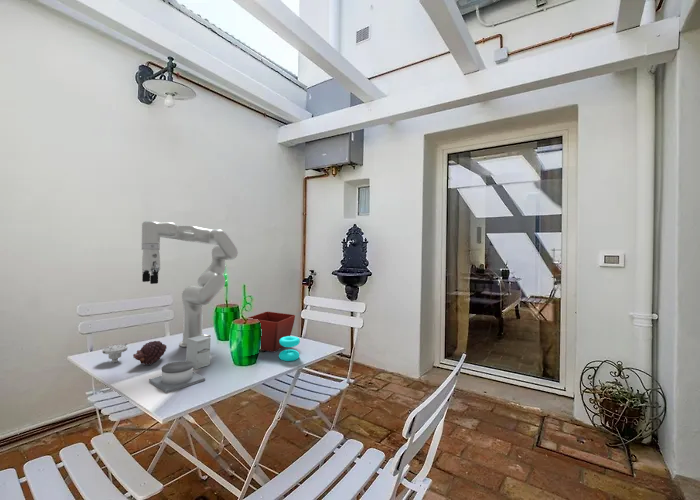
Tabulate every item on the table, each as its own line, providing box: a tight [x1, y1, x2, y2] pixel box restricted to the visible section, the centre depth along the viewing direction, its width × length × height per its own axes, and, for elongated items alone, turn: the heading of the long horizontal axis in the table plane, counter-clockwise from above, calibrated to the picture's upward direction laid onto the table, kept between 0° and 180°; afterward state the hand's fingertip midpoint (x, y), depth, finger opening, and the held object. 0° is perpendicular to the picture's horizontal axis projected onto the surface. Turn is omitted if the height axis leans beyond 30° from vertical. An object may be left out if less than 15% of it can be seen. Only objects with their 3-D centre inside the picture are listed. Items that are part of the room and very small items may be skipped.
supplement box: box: [185, 335, 212, 370], centre depth 152 cm, size 7×7×13 cm
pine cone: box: [132, 340, 167, 366], centre depth 153 cm, size 18×10×10 cm, turn 169°
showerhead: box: [101, 342, 128, 363], centre depth 154 cm, size 9×7×10 cm
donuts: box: [278, 335, 301, 362], centre depth 165 cm, size 10×10×10 cm
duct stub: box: [148, 360, 206, 394], centre depth 135 cm, size 15×15×6 cm
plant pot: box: [247, 311, 296, 353], centre depth 181 cm, size 19×19×17 cm
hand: (150, 282), depth 162 cm, fingers open, 9 cm apart
